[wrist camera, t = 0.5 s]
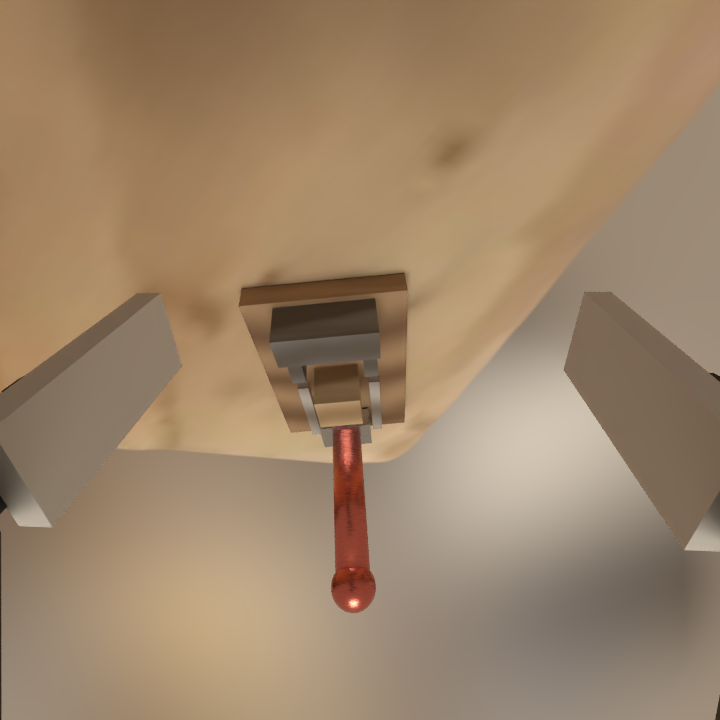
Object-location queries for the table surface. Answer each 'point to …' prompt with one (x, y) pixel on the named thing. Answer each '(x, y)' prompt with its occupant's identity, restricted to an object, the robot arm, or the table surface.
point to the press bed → (335, 292)
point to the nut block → (337, 395)
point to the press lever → (350, 516)
